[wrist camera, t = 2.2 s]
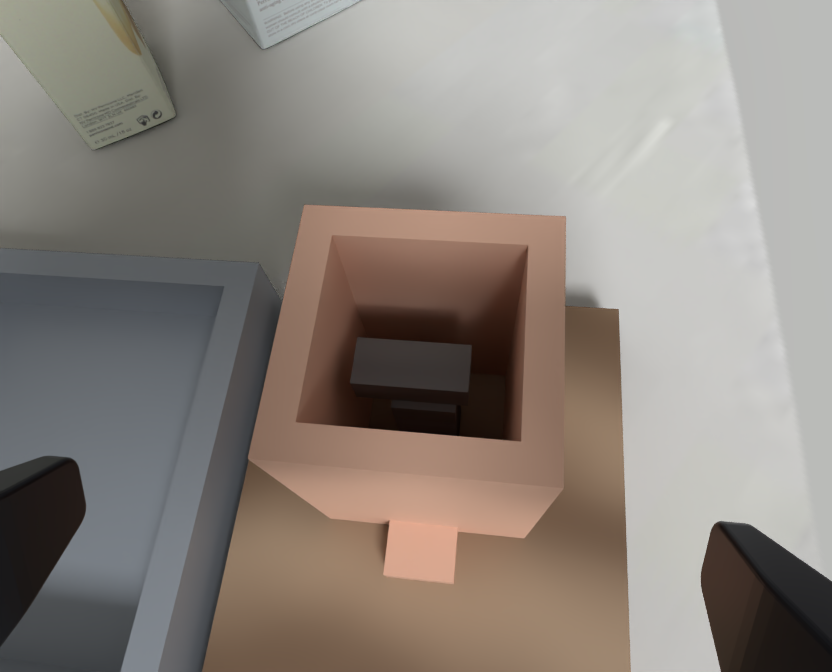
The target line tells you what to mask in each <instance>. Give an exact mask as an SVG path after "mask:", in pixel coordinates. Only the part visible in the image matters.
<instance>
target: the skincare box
mask: <svg viewBox="0 0 832 672" xmlns="http://www.w3.org/2000/svg"><path fill="white" fill-rule="evenodd" d="M0 35H1V36H2V37H3V39H4V40H5V41H6V43H7V44H8V45H9V46H10V48H11V49H12V50H13V51H14V53H15V54H16V55H17V56H18V58H19V59H20V60H21V61H22V63H23V64H24V65H25V66H26V68H27V69H28V70H29V71H30V73H31V74H32V75H33V76H34V78H35V79H36V80H37V81H38V83H39V84H40V85H41V87H42V88H43V89H44V90H45V92H46V93H47V94H48V95H49V97H50V98H51V99H52V100H53V102H54V103H55V104H56V105H57V107H58V108H59V109H60V111H61V112H62V113H63V114H64V116H65V117H66V118H67V119H68V121H69V122H70V123H71V124H72V126H73V127H74V128H75V129H76V131H77V132H78V133H79V134H80V136H81V137H82V138H83V139H84V141H85V142H86V143H87V144H88V146H89V147H90V148H91V149H92V150H95V149H98V148H100V147H103V146H106V145H108V144H111V143H113V142H116V141H119V140H121V139H124V138H126V137H129V136H131V135H134V134H136V133H139V132H141V131H144V130H146V129H148V128H151V127H153V126H155V125H158V124H160V123H162V122H165V121H167V120H169V119H172V118H174V117H175V115H176V113H175V110H174V107H173V104H172V101H171V98H170V96H169V93H168V90H167V88H166V85H165V83H164V81H163V78H162V76H161V73H160V71H159V69H158V67H157V65H156V63H155V61H154V59H153V57H152V54H151V52H150V50H149V48H148V46H147V44H146V42H145V40H144V39H143V37H142V35H141V33H140V32H139V30H138V28H137V26H136V24H135V23H134V21H133V19H132V17H131V15H130V13H129V11H128V10H127V8H126V6H125V4H124V3H123V1H122V0H0Z"/></svg>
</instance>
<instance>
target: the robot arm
mask: <svg viewBox="0 0 832 672" xmlns="http://www.w3.org/2000/svg"><path fill="white" fill-rule="evenodd" d="M85 513H86V500H85V495H84V490H83V485H82V480H81V475H80V470H79V466H78V464H77V462H76V461H75V460H74V459H72V458H70V457H60V456H49V455H48V456H42V457H39V458H36V459H33V460H30V461H27V462H24V463H21V464H18V465H15V466H13V467H10V468H7V469H4V470H1V471H0V648H1V646H2V645H3V644H4V642H5V641H6V640H7V638H8V637H9V636H10V634H11V633H12V632H13V630H14V629H15V627H16V626H17V625H18V623H19V622H20V620H21V619H22V618H23V616H24V615H25V613H26V612H27V610H28V609H29V607H30V606H31V604H32V603H33V601H34V599H35V598H36V596H37V595H38V593H39V591H40V590H41V588H42V587H43V585H44V583H45V582H46V580H47V579H48V577H49V575H50V574H51V572H52V570H53V569H54V567H55V566H56V564H57V562H58V561H59V559H60V557H61V556H62V554H63V553H64V551H65V549H66V548H67V546H68V545H69V543H70V541H71V540H72V538H73V536H74V535H75V533H76V532H77V530H78V528H79V527H80V525H81V523H82V522H83V519H84V517H85ZM701 587H702V593H703V597H704V601H705V605H706V610H707V614H708V618H709V622H710V627H711V631H712V635H713V639H714V644H715V648H716V652H717V656H718V661H719V665H720V669H721V672H832V581H830V580H829V579H828V578H826V577H825V576H823V575H822V574H820V573H819V572H818V571H816V570H815V569H813V568H812V567H810V566H809V565H807V564H806V563H805V562H803V561H802V560H800V559H799V558H797V557H796V556H795V555H793V554H792V553H790V552H789V551H787V550H786V549H785V548H783V547H782V546H780V545H779V544H777V543H776V542H775V541H773V540H772V539H770V538H769V537H767V536H766V535H765V534H763V533H762V532H760V531H759V530H757V529H756V528H754V527H753V526H751V525H749V524H745V523H734V522H724V521H719V522H717V523H716V524H714V526H713V528H712V530H711V533H710V537H709V541H708V545H707V550H706V554H705V558H704V562H703V566H702V571H701Z"/></svg>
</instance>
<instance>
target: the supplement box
mask: <svg viewBox="0 0 832 672" xmlns="http://www.w3.org/2000/svg"><path fill="white" fill-rule="evenodd" d="M220 1H221V2H222V3H223V4H224V5H225V7H226V8H227V9H228V10H229V11H230V12H231V14H232V15H233V16H234V17H235V18H236V19H237V21H238V22H239V23H240V24H241V25H242V26H243V28H244V29H245V30H246V31H247V32H248V33H249V34H250V36H251V37H252V38H253V39H254V40H255V41H256V42H257V44H258V45H259V46H260V47H261V48H262V49H266V48H268V47H270V46H273V45H275V44H277V43H278V42H281V41H283V40H285V39H287V38H289V37H291V36H293V35H294V34H296V33H298V32H300V31H302V30H304V29H306V28H308V27H310V26H312V25H314V24H316V23H318V22H320V21H322V20H324V19H326V18H328V17H330V16H332V15H334V14H336V13H338V12H340V11H341V10H343V9H345V8H347V7H349V6H351V5H353V4H355V3H357V2H359V1H361V0H220Z"/></svg>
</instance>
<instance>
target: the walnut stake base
mask: <svg viewBox="0 0 832 672" xmlns="http://www.w3.org/2000/svg"><path fill="white" fill-rule="evenodd" d="M471 357H472V345H463V344H449V343H434V342H420V341H405V340H391V339H376V338H362V337H357V342H356V348H355V355H354V361H353V367H352V373H351V379H350V384H351V386H352V388H353V391H354V393H355V395H356V397H364V398H373V401H372V408H371V414H370V421H369V428H368V429H380V430H392V431H403V432H415V433H427V434H438V435H450V436H462V437H473V438H485V439H497V440H502V437H503V417H504V396H505V376H503V375H489V374H476V373H470V372H471ZM388 531H389V525H388V524H378V523H369V522H359V521H349V520H340V519H330V518H329V517H327V516H326V515H325V514H323V513H322V512H320V511H319V510H318V509H316V508H315V507H314V506H312V505H311V504H309V503H308V502H307V501H305V500H304V499H302V498H301V497H300V496H298V495H297V494H296V493H294V492H293V491H291V490H290V489H289V488H287V487H286V486H285V485H283V484H282V483H280V482H279V481H278V480H276V479H275V478H273V477H272V476H271V475H269V474H268V473H267V472H265V471H264V470H262V469H261V468H260V467H258V466H257V465H255V464H254V463H253V462H251V461H250V460H249V462H248V466H247V471H246V475H245V480H244V484H243V489H242V493H241V498H240V502H239V507H238V511H237V516H236V520H235V525H234V529H233V534H232V538H231V543H230V547H229V552H228V556H227V561H226V566H225V570H224V575H223V579H222V584H221V588H220V593H219V597H218V602H217V606H216V611H215V615H214V620H213V624H212V629H211V633H210V638H209V642H208V647H207V651H206V656H205V660H204V665H203V669H202V672H631V667H630V637H629V607H628V577H627V547H626V516H625V486H624V456H623V426H622V396H621V366H620V336H619V309H607V308H590V307H574V306H565V404H564V489H563V490H562V491H561V493H560V494H559V495H558V496H557V498H556V499H555V500H554V501H553V503H552V504H551V505H550V507H549V508H548V509H547V510H546V512H545V513H544V514H543V515H542V517H541V518H540V519H539V520H538V522H537V523H536V524H535V525H534V527H533V528H532V529H531V531H530V532H529V533H528V534H527V536H526V537H525V538H515V537H505V536H495V535H485V534H476V533H466V532H458V538H457V552H456V565H455V578H454V584H446V583H437V582H428V581H419V580H410V579H401V578H392V577H386V576H384V575H383V572H384V564H385V556H386V547H387V539H388Z"/></svg>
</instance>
